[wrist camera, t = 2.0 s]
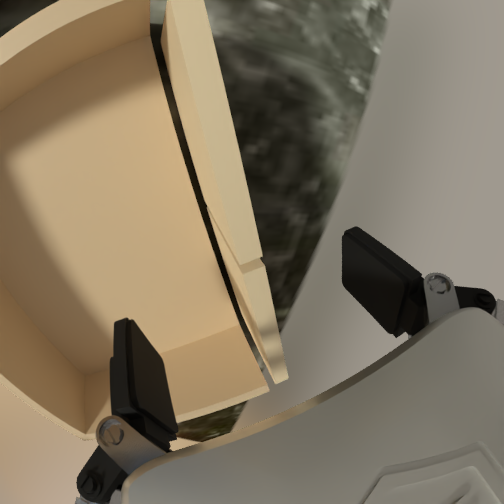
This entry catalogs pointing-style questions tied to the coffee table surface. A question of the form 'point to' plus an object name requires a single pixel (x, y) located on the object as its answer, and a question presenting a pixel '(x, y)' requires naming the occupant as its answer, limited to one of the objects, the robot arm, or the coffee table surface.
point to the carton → (103, 224)
